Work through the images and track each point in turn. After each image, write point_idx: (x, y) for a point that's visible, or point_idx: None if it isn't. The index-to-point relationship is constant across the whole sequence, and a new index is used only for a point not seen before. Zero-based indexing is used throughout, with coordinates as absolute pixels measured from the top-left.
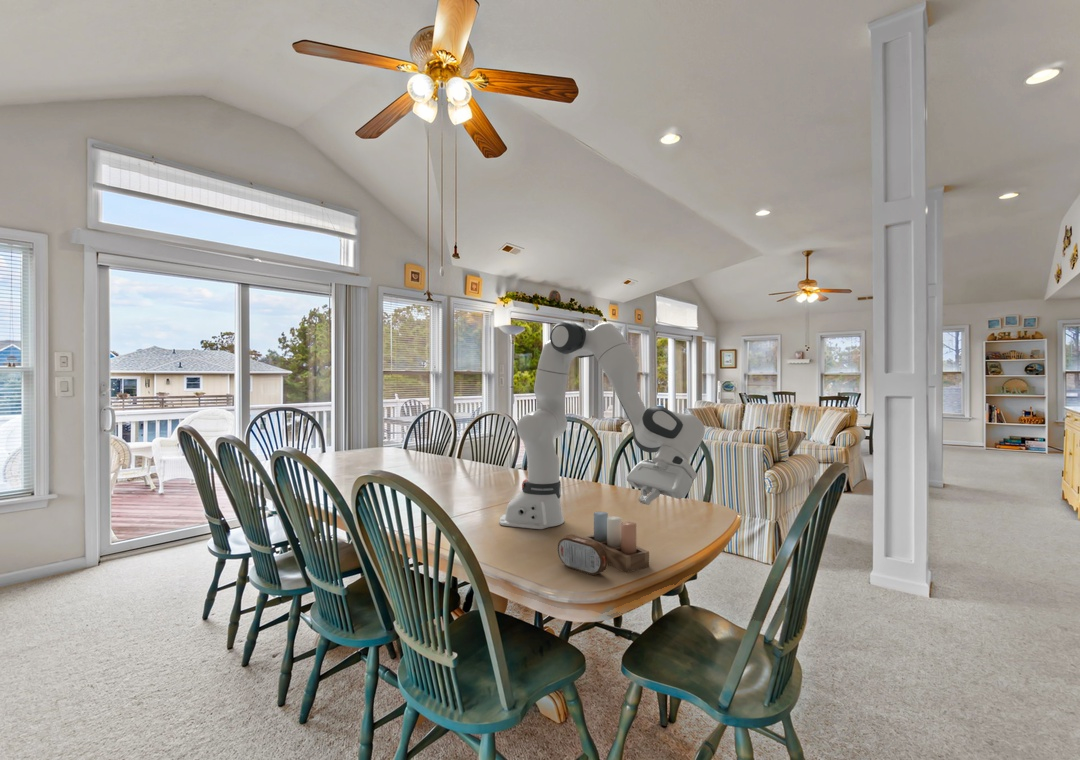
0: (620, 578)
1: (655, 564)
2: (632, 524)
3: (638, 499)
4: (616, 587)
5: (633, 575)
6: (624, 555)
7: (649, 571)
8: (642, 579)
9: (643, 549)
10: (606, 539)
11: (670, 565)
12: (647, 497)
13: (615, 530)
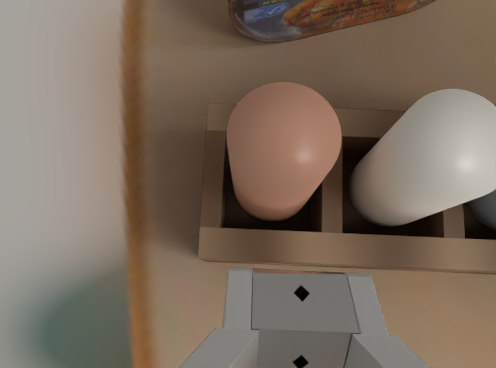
0: (186, 73)
1: (207, 308)
2: (254, 145)
3: (365, 273)
4: (135, 8)
5: (176, 134)
6: (231, 113)
7: (165, 221)
8: (125, 135)
9: (239, 257)
10: (475, 199)
11: (155, 360)
12: (233, 314)
13: (383, 137)
